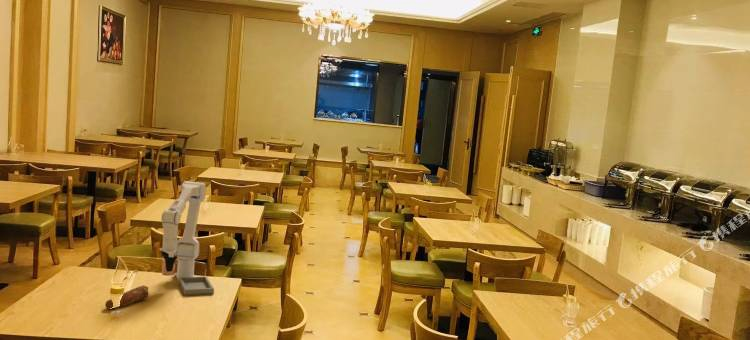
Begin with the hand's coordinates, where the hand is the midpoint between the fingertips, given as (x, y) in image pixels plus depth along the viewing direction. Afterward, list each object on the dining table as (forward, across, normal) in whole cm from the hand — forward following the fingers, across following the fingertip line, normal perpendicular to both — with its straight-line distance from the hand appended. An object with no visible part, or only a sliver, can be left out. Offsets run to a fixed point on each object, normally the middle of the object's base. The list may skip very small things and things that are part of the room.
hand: (168, 269), depth 271 cm
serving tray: (+9, 0, +12) cm, 15 cm away
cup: (+2, 0, 0) cm, 2 cm away
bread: (+9, +16, -17) cm, 25 cm away
